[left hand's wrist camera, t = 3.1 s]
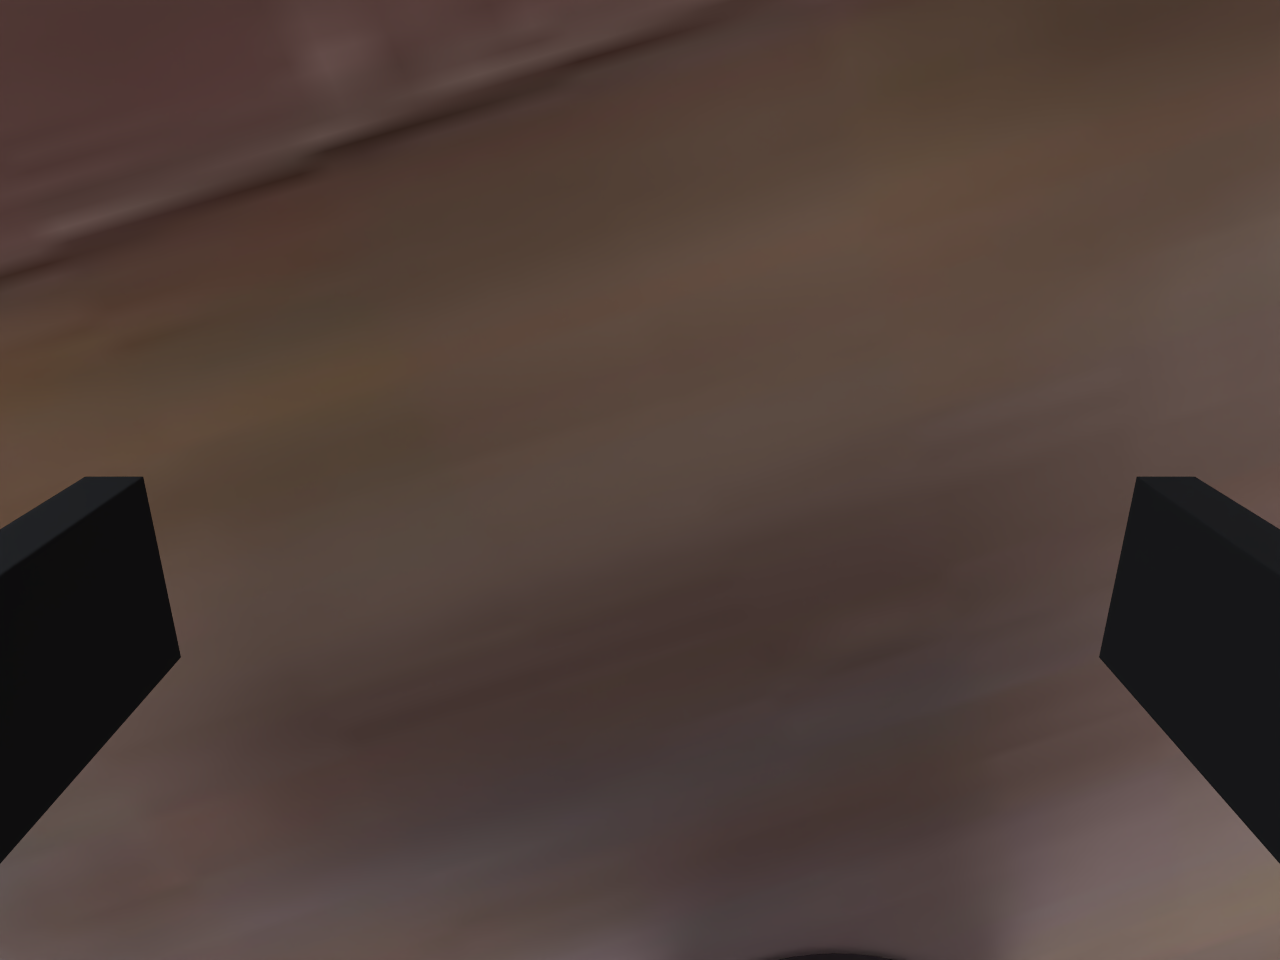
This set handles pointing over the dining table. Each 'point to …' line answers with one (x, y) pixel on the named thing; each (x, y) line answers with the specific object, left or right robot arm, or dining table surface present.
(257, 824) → the dining table surface
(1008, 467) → the dining table surface
